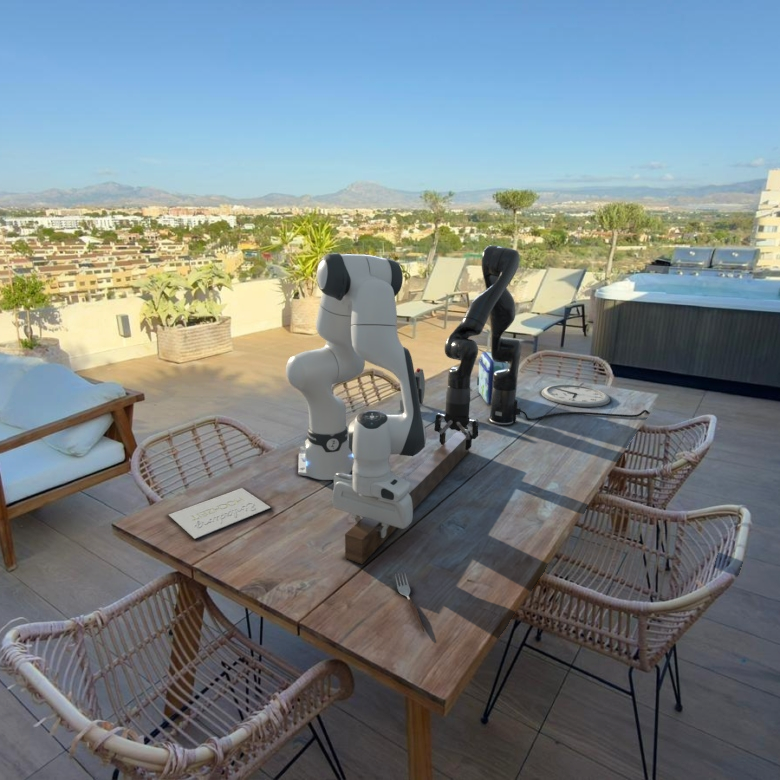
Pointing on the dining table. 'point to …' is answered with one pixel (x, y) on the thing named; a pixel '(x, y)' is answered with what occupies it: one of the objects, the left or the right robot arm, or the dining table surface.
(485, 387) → the lunch box
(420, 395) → the toy gun
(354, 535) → the post
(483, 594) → the dining table surface
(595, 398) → the wall clock
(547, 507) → the dining table surface
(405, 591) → the fork
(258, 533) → the dining table surface
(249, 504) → the invitation card
